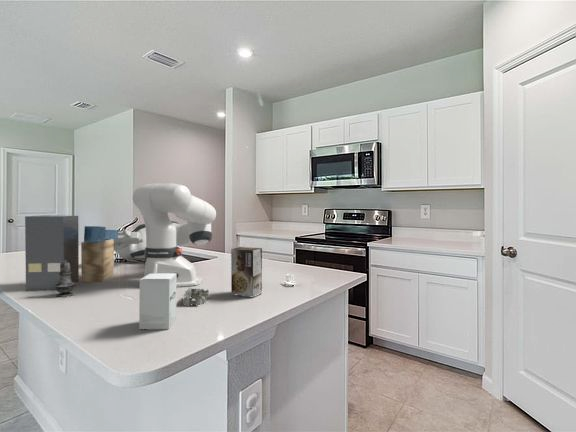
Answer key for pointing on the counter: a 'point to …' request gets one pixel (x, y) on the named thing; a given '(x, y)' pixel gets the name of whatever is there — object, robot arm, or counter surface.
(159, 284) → the supplement box
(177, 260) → the robot arm
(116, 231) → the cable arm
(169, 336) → the counter surface
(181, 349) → the counter surface
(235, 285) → the coffee box
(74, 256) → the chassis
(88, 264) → the wooden log section
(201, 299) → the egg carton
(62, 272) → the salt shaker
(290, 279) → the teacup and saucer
